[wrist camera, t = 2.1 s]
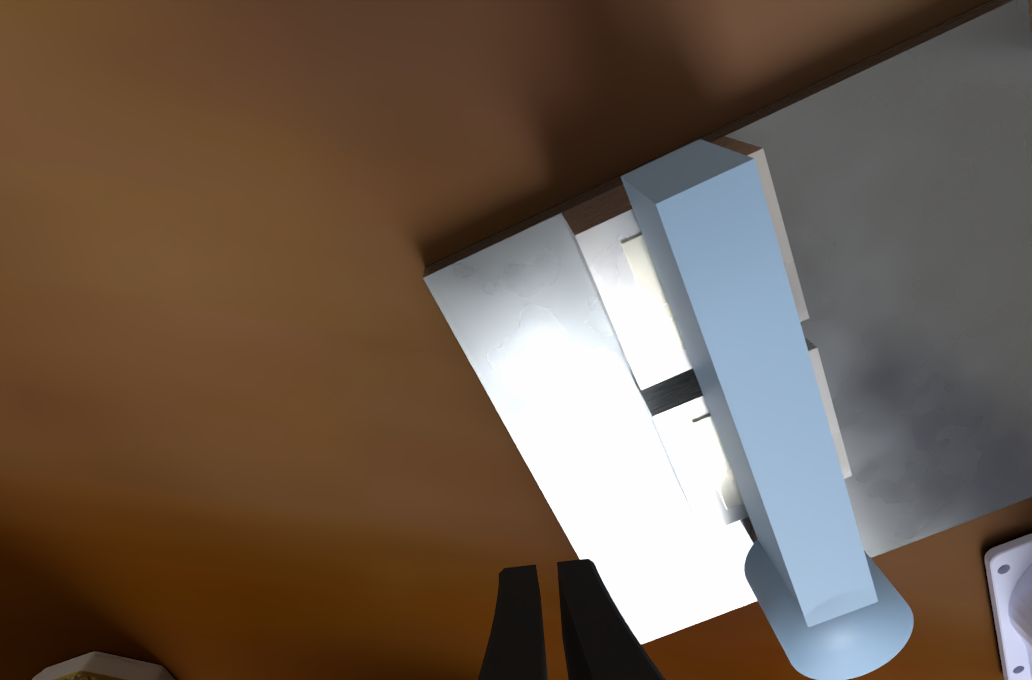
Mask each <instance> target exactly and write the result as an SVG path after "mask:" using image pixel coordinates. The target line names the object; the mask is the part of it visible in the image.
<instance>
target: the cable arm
mask: <svg viewBox="0 0 1032 680" xmlns="http://www.w3.org/2000/svg"><path fill="white" fill-rule="evenodd" d="M621 179H622V182H623V184H624V187H625V190H626V192H627V195H628V198H629V200H630V203H631V206H632V208H633V211H634V214H635V216H636V219H637V221H638V224H639V227H640V229H641V232H642V235H643V237H644V240H645V243H646V245H647V248H648V251H649V253H650V256H651V258H652V261H653V264H654V266H655V269H656V272H657V274H658V277H659V280H660V282H661V285H662V288H663V290H664V293H665V296H666V298H667V301H668V303H669V306H670V309H671V311H672V314H673V317H674V319H675V322H676V325H677V327H678V330H679V333H680V335H681V338H682V341H683V343H684V346H685V348H686V351H687V354H688V356H689V359H690V362H691V364H692V367H693V370H694V372H695V375H696V378H697V380H698V383H699V385H700V388H701V391H702V393H703V396H704V399H705V401H706V404H707V407H708V409H709V412H710V415H711V417H712V420H713V423H714V425H715V428H716V430H717V433H718V436H719V438H720V441H721V444H722V446H723V449H724V452H725V454H726V457H727V460H728V462H729V465H730V467H731V470H732V473H733V475H734V478H735V481H736V483H737V486H738V489H739V491H740V494H741V497H742V499H743V502H744V505H745V507H746V510H747V512H748V515H749V518H750V520H751V523H752V526H753V528H754V531H755V534H756V536H757V540H756V541H755V543H754V544H753V545H752V547H751V548H750V550H749V552H748V554H747V556H746V560H745V564H744V572H745V577H746V580H747V582H748V584H749V585H750V587H751V589H752V591H753V593H754V595H755V597H756V599H757V600H758V602H759V604H760V606H761V608H762V610H763V612H764V614H765V615H766V617H767V619H768V621H769V623H770V625H771V627H772V629H773V630H774V632H775V634H776V636H777V638H778V640H779V642H780V644H781V645H782V647H783V649H784V651H785V653H786V655H787V657H788V659H789V660H790V662H791V664H792V665H793V667H794V668H795V669H796V670H797V671H798V672H800V673H801V674H803V675H805V676H807V677H809V678H813V679H816V680H847V679H851V678H855V677H858V676H862V675H864V674H867V673H869V672H871V671H873V670H875V669H877V668H879V667H881V666H882V665H884V664H886V663H887V662H888V661H890V660H891V659H892V658H893V657H894V656H896V655H897V654H898V653H899V652H900V650H901V649H902V648H903V647H904V645H905V644H906V643H907V641H908V639H909V637H910V635H911V632H912V629H913V614H912V611H911V609H910V607H909V606H908V604H907V603H906V602H905V600H904V599H903V598H902V597H901V595H900V594H899V593H898V592H897V590H896V589H895V588H894V587H893V585H892V584H891V583H890V582H889V580H888V579H887V578H886V577H885V575H884V574H883V573H882V572H881V570H880V569H879V568H878V567H877V566H876V564H875V563H874V562H873V561H872V559H871V558H870V557H869V556H868V554H867V553H866V552H865V551H864V549H863V545H862V542H861V538H860V534H859V531H858V527H857V524H856V520H855V517H854V513H853V509H852V506H851V502H850V499H849V495H848V492H847V488H846V484H845V481H844V477H843V474H842V470H841V466H840V463H839V459H838V456H837V452H836V449H835V445H834V441H833V438H832V434H831V431H830V427H829V424H828V420H827V416H826V413H825V409H824V406H823V402H822V399H821V395H820V391H819V388H818V384H817V381H816V377H815V374H814V370H813V366H812V363H811V359H810V356H809V352H808V348H807V345H806V341H805V338H804V334H803V331H802V327H801V323H800V320H799V316H798V313H797V309H796V306H795V302H794V298H793V295H792V291H791V288H790V284H789V281H788V277H787V273H786V270H785V266H784V263H783V259H782V256H781V252H780V248H779V245H778V241H777V238H776V234H775V231H774V227H773V223H772V220H771V216H770V213H769V209H768V205H767V202H766V198H765V195H764V191H763V188H762V184H761V180H760V177H759V173H758V170H757V166H756V163H755V159H754V158H752V157H749V156H746V155H743V154H741V153H738V152H735V151H732V150H729V149H726V148H724V147H721V146H718V145H715V144H712V143H710V142H707V141H704V140H701V139H699V140H697V141H695V142H693V143H691V144H689V145H687V146H685V147H682V148H680V149H678V150H676V151H674V152H672V153H670V154H668V155H665V156H663V157H661V158H659V159H657V160H655V161H653V162H651V163H649V164H646V165H644V166H642V167H640V168H638V169H636V170H634V171H632V172H629V173H627V174H625V175H623V176H621Z"/></svg>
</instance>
